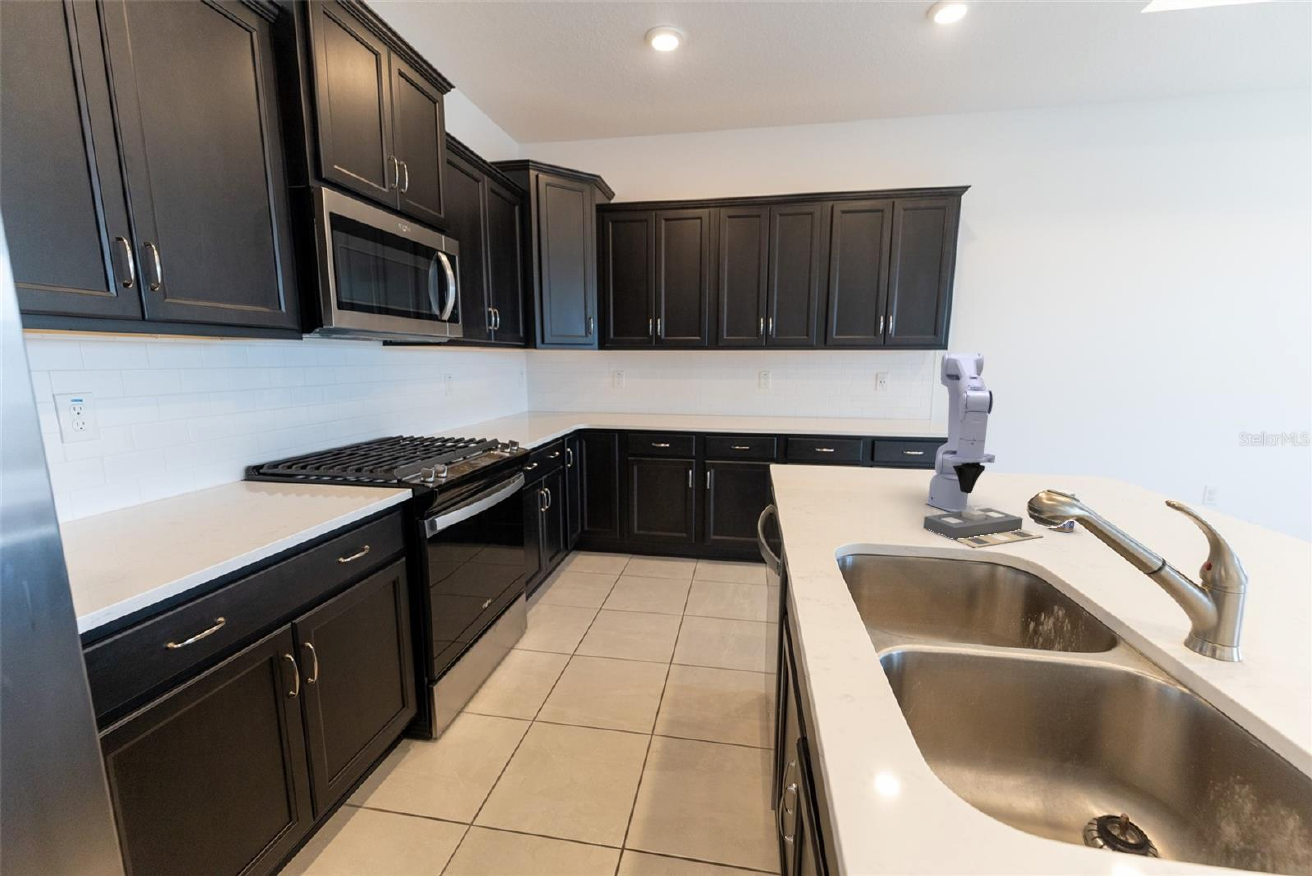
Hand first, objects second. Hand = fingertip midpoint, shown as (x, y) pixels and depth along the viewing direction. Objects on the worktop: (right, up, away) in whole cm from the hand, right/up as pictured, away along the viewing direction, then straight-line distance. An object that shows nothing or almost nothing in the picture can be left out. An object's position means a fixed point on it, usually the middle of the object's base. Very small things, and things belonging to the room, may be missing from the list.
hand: (965, 492), depth 132 cm
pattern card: (+4, -10, -7) cm, 13 cm away
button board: (+1, -9, 0) cm, 9 cm away
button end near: (-5, -9, -3) cm, 11 cm away
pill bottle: (+23, -9, 0) cm, 25 cm away
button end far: (+8, -9, +2) cm, 12 cm away
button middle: (+1, -8, -1) cm, 8 cm away
